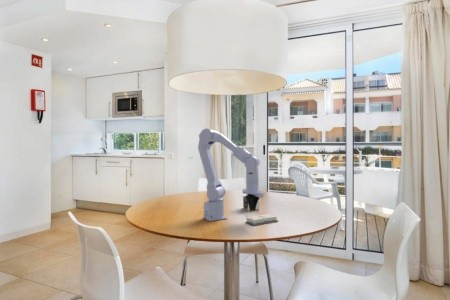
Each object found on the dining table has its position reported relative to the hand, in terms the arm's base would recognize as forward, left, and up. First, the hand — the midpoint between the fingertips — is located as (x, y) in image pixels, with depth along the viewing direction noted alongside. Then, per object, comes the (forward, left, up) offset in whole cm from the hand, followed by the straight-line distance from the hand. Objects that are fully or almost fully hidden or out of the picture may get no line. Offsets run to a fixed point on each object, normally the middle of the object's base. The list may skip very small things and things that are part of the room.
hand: (252, 210), depth 134 cm
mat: (+3, -3, -5) cm, 7 cm away
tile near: (0, +1, -4) cm, 4 cm away
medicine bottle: (+14, +22, -5) cm, 27 cm away
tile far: (+7, +1, -4) cm, 8 cm away
